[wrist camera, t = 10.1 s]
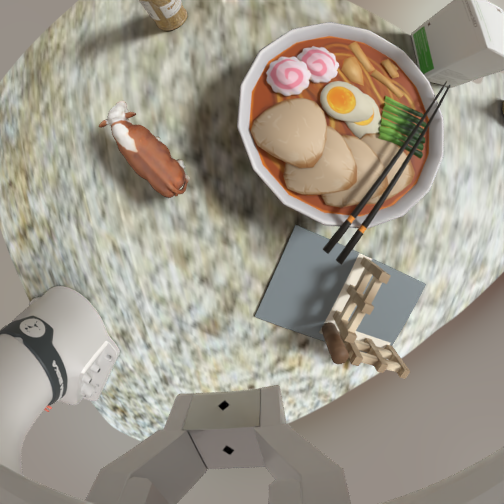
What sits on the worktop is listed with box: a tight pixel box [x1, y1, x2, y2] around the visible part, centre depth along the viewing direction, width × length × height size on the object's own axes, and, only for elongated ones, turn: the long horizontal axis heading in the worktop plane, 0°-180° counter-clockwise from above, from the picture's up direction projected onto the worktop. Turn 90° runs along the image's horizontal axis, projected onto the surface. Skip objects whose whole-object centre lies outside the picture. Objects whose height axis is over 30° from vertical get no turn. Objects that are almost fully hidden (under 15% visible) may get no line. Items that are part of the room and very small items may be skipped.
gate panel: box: [333, 257, 391, 344], centre depth 33 cm, size 9×1×6 cm, turn 157°
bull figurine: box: [99, 101, 190, 198], centre depth 30 cm, size 4×13×8 cm, turn 37°
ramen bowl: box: [237, 22, 450, 265], centre depth 29 cm, size 25×23×8 cm
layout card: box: [255, 225, 426, 353], centre depth 38 cm, size 13×21×1 cm, turn 68°
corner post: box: [322, 322, 349, 364], centre depth 35 cm, size 2×2×8 cm
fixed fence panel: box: [340, 334, 410, 378], centre depth 35 cm, size 9×1×7 cm, turn 68°
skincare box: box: [411, 0, 504, 87], centre depth 22 cm, size 8×7×16 cm
